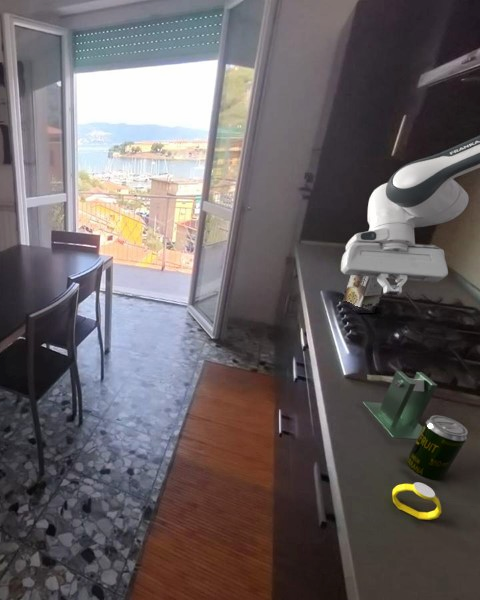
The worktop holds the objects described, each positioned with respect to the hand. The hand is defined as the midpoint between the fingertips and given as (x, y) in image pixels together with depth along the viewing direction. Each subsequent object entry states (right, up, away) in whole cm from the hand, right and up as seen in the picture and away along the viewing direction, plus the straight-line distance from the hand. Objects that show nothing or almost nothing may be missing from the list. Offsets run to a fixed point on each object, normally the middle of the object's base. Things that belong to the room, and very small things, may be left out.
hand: (392, 293), depth 85 cm
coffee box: (+28, -5, +46) cm, 54 cm away
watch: (-17, -39, -23) cm, 48 cm away
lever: (-3, -21, -5) cm, 22 cm away
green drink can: (-8, -35, -16) cm, 39 cm away
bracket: (-3, -29, -5) cm, 30 cm away
